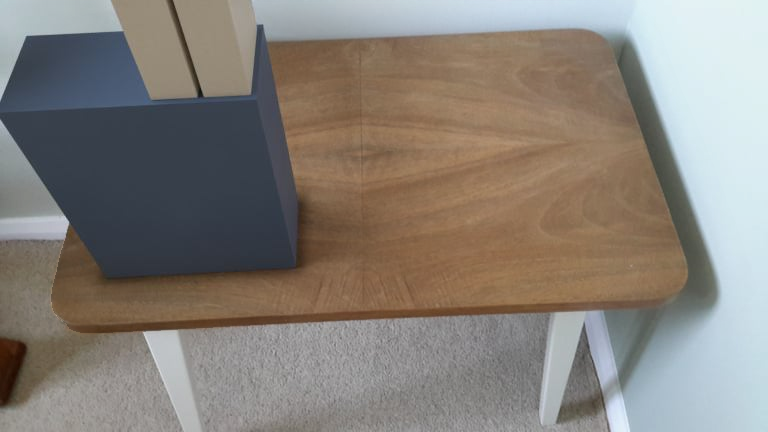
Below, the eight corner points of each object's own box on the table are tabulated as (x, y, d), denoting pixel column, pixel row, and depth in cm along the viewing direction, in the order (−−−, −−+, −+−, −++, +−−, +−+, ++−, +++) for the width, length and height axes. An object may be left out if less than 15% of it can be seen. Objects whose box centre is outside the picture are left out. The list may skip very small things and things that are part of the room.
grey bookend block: (106, 278, 79) (-113, -49, 46) (122, 209, 85) (-63, -125, 51) (296, 268, 80) (218, -64, 46) (298, 200, 86) (230, -139, 52)
